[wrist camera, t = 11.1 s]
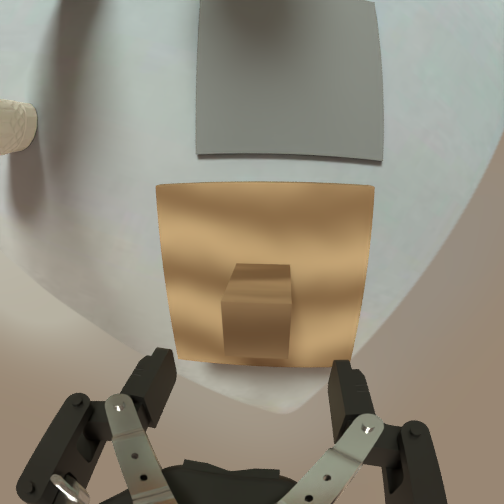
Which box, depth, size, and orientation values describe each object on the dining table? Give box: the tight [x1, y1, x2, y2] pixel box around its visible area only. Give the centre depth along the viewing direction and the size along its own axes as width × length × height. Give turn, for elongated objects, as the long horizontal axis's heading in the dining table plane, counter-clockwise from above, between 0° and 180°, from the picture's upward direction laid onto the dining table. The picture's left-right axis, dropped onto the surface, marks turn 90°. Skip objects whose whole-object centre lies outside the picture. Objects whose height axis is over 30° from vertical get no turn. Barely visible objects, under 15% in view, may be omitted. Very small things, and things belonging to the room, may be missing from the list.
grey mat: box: [196, 0, 384, 161], centre depth 23 cm, size 18×18×1 cm
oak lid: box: [156, 182, 375, 367], centre depth 20 cm, size 16×16×7 cm
